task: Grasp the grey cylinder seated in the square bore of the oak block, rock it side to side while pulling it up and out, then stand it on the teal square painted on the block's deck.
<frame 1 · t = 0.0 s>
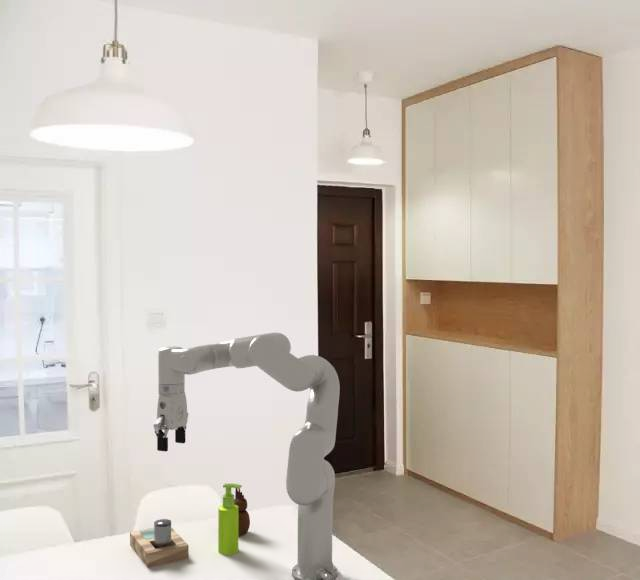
hand: (171, 446, 203), 31 cm above the table, tool pointing down, fingers open, 9 cm apart
wooden figurine: (239, 534, 218), on the table
housing: (158, 551, 204), on the table
soap dispenser: (230, 551, 204), on the table
grey cylinder: (162, 556, 200), resting on housing
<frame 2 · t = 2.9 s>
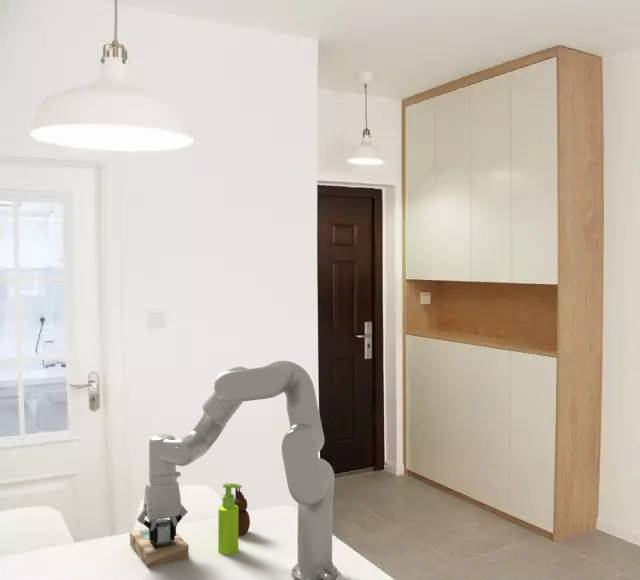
hand: (162, 540, 200), 5 cm above the table, tool pointing down, fingers closed on grey cylinder, 4 cm apart
grey cylinder: (162, 556, 200), resting on housing, touching gripper
everything else where it was.
when the fingers open (10 cm above the table, at t = 8.3 s): grey cylinder drops 1 cm, resting on housing.
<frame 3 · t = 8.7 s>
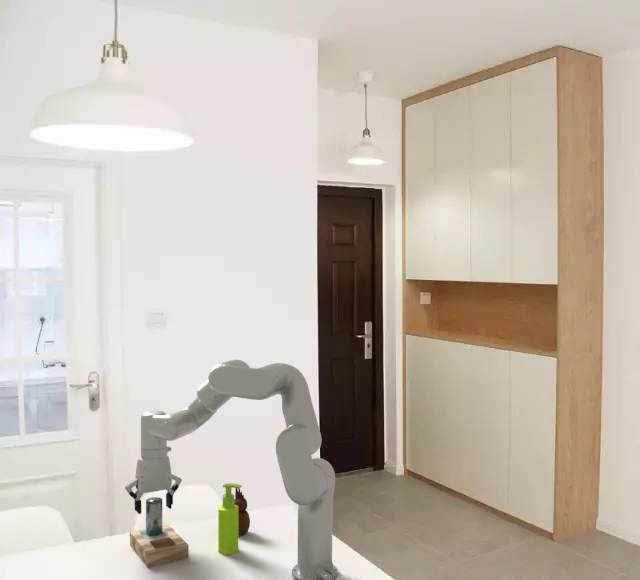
hand: (153, 509, 207), 11 cm above the table, tool pointing down, fingers open, 8 cm apart
grey cylinder: (154, 533, 207), point 4 cm above the table, touching housing
everything else where it was.
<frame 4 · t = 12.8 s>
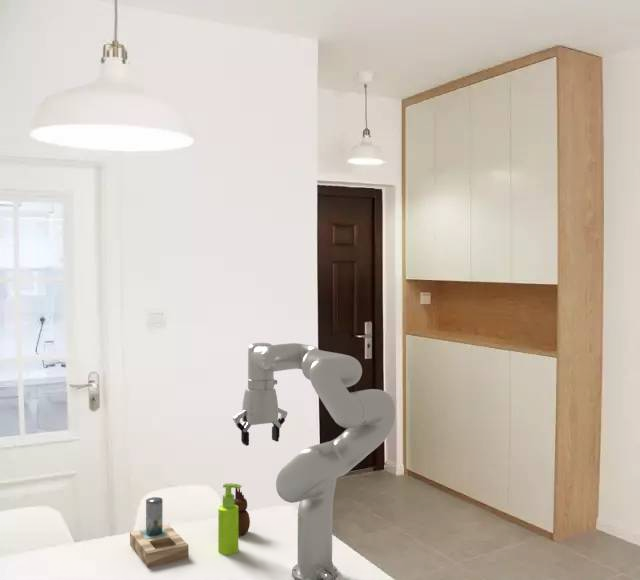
hand: (260, 442, 204), 32 cm above the table, tool pointing down, fingers open, 9 cm apart
nothing on the table moved.
at the end: grey cylinder 0.1 cm from the target spot on the housing, point 4.1 cm above the housing's base; grey cylinder tilted 0°; the gripper is holding nothing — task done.
